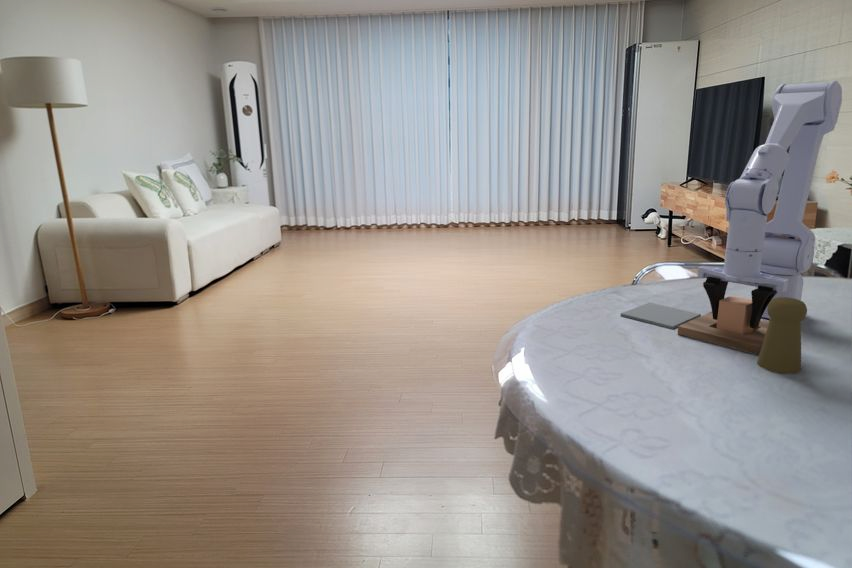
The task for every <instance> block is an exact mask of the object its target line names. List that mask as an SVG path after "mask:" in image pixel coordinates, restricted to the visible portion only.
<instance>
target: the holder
mask: <svg viewBox="0 0 852 568" xmlns="http://www.w3.org/2000/svg"><path fill="white" fill-rule="evenodd" d="M768 324H769V321H764V320H760V323H759V326H758V327H756V328H753V332H751V333H749V334H748V335H742V334H738V333H733V332H729V331H725V330H721V329H717V328H716V327H717V320H714V319H713V314H712V310H711V311H709V312H707V313H705V314H703V315H702V314H701V316H700V317H698V318H696V319H693V320H691V321H689V322H687V323H684V324H682V325H680V326H678V327H677V335H680V336H683V337H684V336H685V337H688V338H691V339H696V340H698V341H699V340H700V341H703V342H707V343H712V344H716V345H719V346H724V347H726V348H731V349H734V350H737V351H738V350H739V351H742V352H746V353H749V354H753V355H758V356H759V355H760V351H761V348H762V344H763V341H764V338H765V334H766V331H767V328H768Z"/></svg>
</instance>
